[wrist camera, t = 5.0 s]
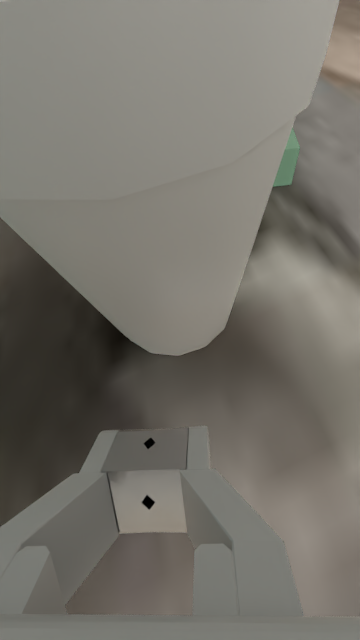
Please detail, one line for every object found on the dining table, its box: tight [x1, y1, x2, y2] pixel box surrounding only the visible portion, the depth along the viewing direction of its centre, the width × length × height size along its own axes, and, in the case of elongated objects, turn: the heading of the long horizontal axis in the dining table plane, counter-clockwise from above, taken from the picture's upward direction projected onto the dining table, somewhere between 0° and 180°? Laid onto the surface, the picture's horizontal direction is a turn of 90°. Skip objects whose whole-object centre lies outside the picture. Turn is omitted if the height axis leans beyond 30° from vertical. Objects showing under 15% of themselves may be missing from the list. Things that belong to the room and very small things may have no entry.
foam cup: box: [0, 0, 339, 356], centre depth 11 cm, size 10×9×13 cm
